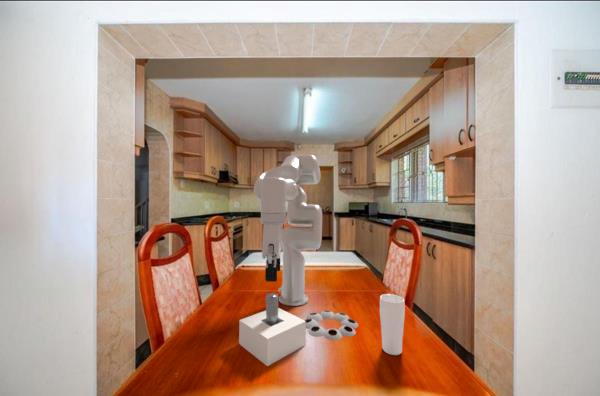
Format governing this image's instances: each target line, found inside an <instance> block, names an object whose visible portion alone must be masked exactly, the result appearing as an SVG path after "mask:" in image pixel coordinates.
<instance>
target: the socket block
mask: <svg viewBox="0 0 600 396" xmlns="http://www.w3.org/2000/svg"><path fill="white" fill-rule="evenodd" d="M304 320H305V319H302V318H301V317H298V316H296V315H295V314H292V313H290V312H289V311H285V310H284V309H282V308H280V307H278V324H276V325H273V326H269V325H267V324H266V310H263V311H260V312H257V313H255V314H252V315H250V316H247V317H245V318H241V319H239V322H238V323H239V325H238V326H239V328H238V329H239V331H238V332H239V333H238V335H239V336H238V344H239V345H240V346H241V347H243V348H244V349H245V350H246V351H247V352H249V353H250V354H252V356H254V357H255V358H256V359H257V360H259V361H260V362H261V363H263V364H264V365H265V366H267V367H269V366H271V365H273V364H274V363H276V362H278V361H280V360H282V359H283V358H285V357H286V356H289V355H291V354H292V353H294V352H296V351H297V350H299V349H301V348H303V347H304V346H305V345H306V342H307V341H306V340H307V339H306V337H307V336H306V335H307V330H306V329H307V328H306V323H307V321H304Z"/></svg>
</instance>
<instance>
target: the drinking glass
mask: <svg viewBox="0 0 600 396" xmlns="http://www.w3.org/2000/svg"><path fill="white" fill-rule="evenodd" d="M405 304H406V303H405V298H404V297H403V296H400V295H397V294H393V293H384V294H381V295H380V296H379V317H380V330H381V331H380V332H381V349H382V350H383V352H385V353H387V354H388V355H391V356H399V355H400V354H402V353H403V339H404V338H403V337H404V328H405V327H404V325H405V318H406V317H405V316H406V314H405V313H406V309H405Z"/></svg>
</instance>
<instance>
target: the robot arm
mask: <svg viewBox="0 0 600 396" xmlns="http://www.w3.org/2000/svg"><path fill="white" fill-rule="evenodd" d="M319 163H320V162H319V161H318V158H317V157H316V156H315V155H313V154H290V155H289V156H286V158H285V159H284V160H283V162H282V163H281V165H280V166H276V167H274V168H272V169H268V170H266V171H263V173H261V174H260V175H259V176H258V178H257V179H256V180H255V183H254V184H253V185H254V186H253V194H254V198H255V199H256V200H258V201H259V202H260V224H261V225H263V230H262V244H261V245H262V248H261V258H262V259H263V260H265V259H266V261H265V266H264V267H265V277H264V279H265V282H272V283H274V282H277V281H278V272H281V258H280V257H281V254H282V285H281V286H280V287H279V288H278V289H277V291H278V292H280V293H281V294H280V295H279V296H278V303H280V304H282V305H284V306H290V307H298V306H302V305H305V304H307V303H308V302H309V297H308V295H307V294H305V288H306V287H305V285H306V284H305V283H306V280H305V277H306V275H305V272H306V271H305V269H306V265H305V264H306V261H305V260H306V259H305V255H304V254H303V253H302V251H301V250H308V251H309V250H311V251H313V250H314V251H315V250H319V249H320V247H321V245H322V241H323V239H322V238H323V237H322V236H323V235H322V233H323V210H322V207H321V206H320V205H318V204H311V203H308V204H307V200H308V195H307V193H306V191H304V189H303V188H302V187H301V186H300V185H317V184H319V183H320V182H321V177H322V175H321V169H320V164H319ZM287 223H288V224H290V225H293V226H288V227H284V228H283V225H286V224H287Z"/></svg>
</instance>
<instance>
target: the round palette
mask: <svg viewBox="0 0 600 396" xmlns="http://www.w3.org/2000/svg"><path fill="white" fill-rule="evenodd" d="M323 319H325V320H331V319H333V320H334V321H337V322H340V325H341V326H340V327H339V328H338V329H336V328H328V329H325V328H324V327H323V326H321V325H319V323H318V322H321V321H323ZM303 320H304V321H306V329H308V330H307V333H308V334H309V335H310V336H312V337H315V338H316V337H324V338H325V339H328V340H330V341H337V340H340V339H342V337H346V338H347V337H354V336H355V335H356V334H357V331H356V330H355V329H357V328H358V327H359V324H358V323H357V321H356V320H354V319H353V318H350V317H349V315H347V313H344V312H337V313H334V312H333V311H331V310H322V311H321V312H320V313H318V312H311V313H309V314H308V315H307V316H306V319H303ZM313 328H315V329H316V328H318V330H316V331H314V330H312V329H313ZM345 328H349V329H351V330H352V331H348V330H346V329H345ZM331 331H332V332H336V334H335V335H332V334H330V333H329V332H331Z"/></svg>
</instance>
